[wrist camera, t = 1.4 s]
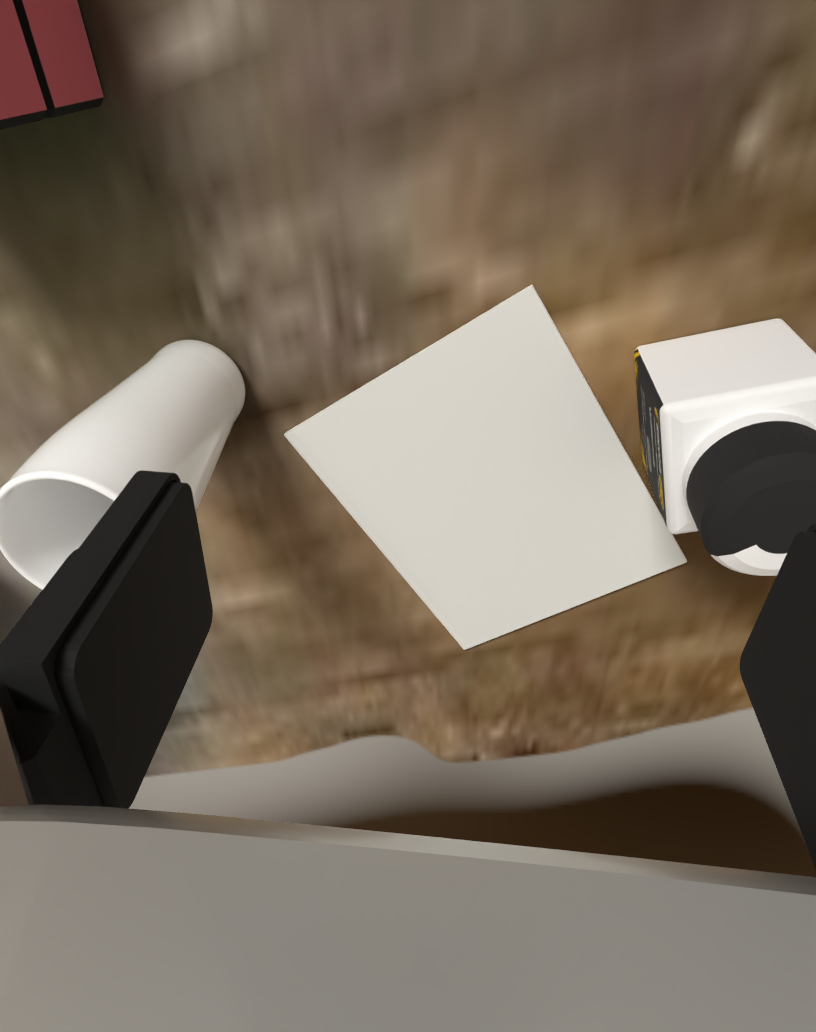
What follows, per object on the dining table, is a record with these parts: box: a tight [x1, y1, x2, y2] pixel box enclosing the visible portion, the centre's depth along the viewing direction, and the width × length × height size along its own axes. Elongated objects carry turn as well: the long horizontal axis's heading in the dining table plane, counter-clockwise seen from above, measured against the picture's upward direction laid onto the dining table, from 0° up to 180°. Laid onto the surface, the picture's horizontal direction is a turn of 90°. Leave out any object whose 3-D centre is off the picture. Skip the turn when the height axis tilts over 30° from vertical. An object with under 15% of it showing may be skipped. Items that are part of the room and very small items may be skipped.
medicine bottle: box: [634, 319, 816, 576], centre depth 32 cm, size 7×7×12 cm
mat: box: [284, 285, 687, 650], centre depth 42 cm, size 16×20×1 cm
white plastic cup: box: [0, 340, 245, 590], centre depth 33 cm, size 7×7×15 cm
